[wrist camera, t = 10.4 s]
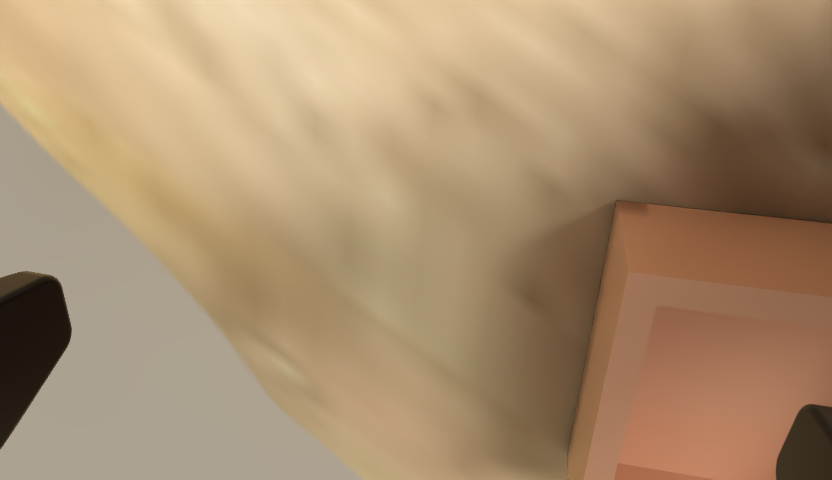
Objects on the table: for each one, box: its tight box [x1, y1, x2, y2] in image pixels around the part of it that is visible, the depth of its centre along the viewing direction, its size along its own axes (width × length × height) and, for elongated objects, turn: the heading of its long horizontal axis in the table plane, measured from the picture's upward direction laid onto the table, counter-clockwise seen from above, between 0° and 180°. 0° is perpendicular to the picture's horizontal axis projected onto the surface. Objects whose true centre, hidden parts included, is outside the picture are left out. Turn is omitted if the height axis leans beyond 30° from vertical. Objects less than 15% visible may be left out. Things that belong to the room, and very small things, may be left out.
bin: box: [567, 201, 832, 480], centre depth 19 cm, size 10×10×4 cm
